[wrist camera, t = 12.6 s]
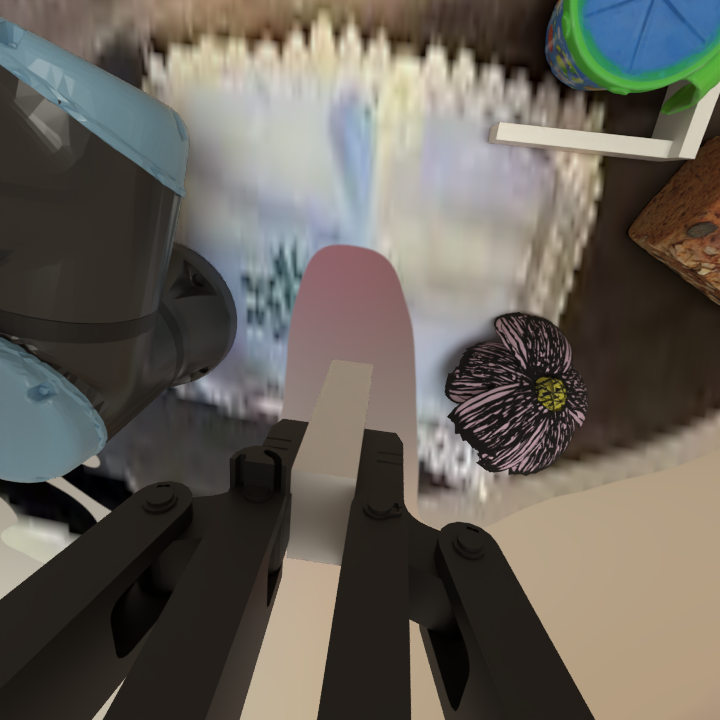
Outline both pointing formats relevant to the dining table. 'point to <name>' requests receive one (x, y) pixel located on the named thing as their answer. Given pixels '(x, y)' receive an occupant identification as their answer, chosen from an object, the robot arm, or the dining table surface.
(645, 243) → the bread
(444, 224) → the dining table surface
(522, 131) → the fence
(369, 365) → the robot arm
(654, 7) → the snack cup
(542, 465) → the decorative flower
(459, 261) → the dining table surface
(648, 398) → the dining table surface
